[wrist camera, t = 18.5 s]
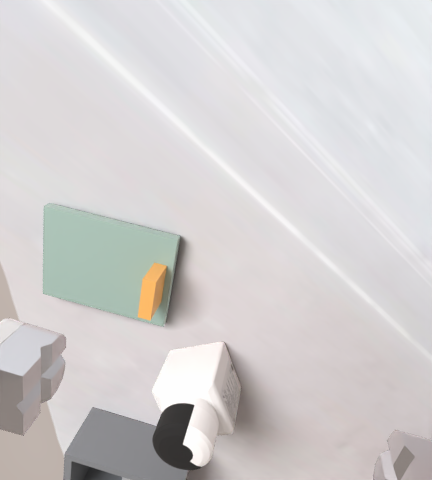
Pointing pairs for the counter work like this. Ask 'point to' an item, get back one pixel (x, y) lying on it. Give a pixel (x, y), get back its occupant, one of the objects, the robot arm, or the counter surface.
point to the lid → (108, 263)
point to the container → (195, 404)
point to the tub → (116, 451)
